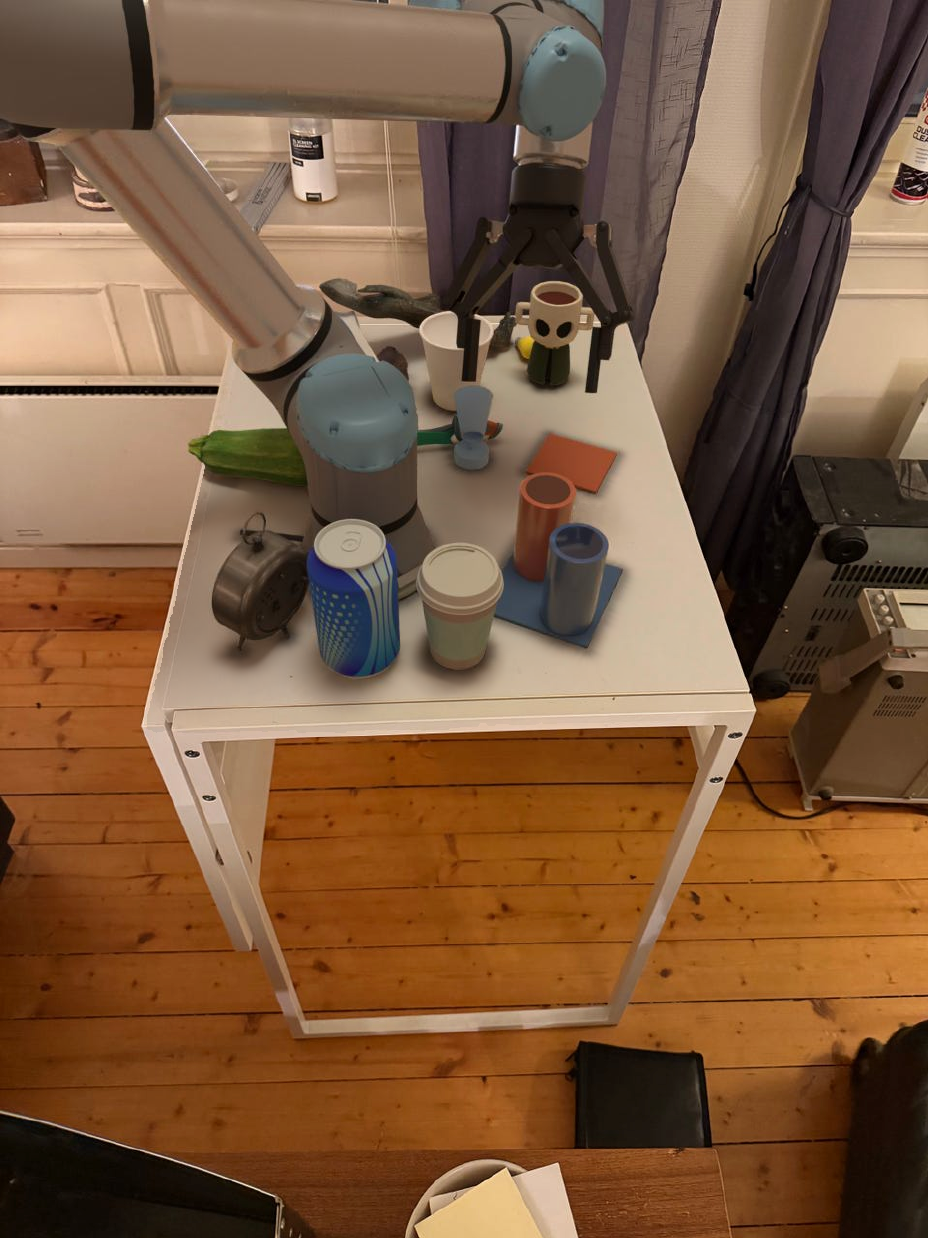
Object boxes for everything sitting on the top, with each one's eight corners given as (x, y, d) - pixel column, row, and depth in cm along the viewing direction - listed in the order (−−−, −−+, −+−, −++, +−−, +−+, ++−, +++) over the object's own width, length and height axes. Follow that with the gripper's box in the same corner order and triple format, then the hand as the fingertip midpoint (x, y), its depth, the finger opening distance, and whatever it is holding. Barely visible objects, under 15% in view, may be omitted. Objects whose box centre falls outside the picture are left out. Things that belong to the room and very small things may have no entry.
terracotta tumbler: (505, 571, 100) (511, 497, 92) (524, 539, 103) (531, 465, 95) (554, 588, 98) (565, 514, 90) (571, 554, 102) (583, 481, 94)
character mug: (508, 386, 125) (515, 302, 116) (512, 360, 130) (519, 277, 121) (584, 393, 125) (596, 309, 115) (585, 366, 130) (597, 283, 120)
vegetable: (332, 481, 103) (170, 469, 105) (344, 496, 111) (192, 484, 112) (338, 422, 104) (177, 410, 106) (350, 440, 111) (199, 429, 113)
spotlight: (452, 440, 117) (452, 472, 112) (454, 375, 109) (453, 407, 105) (489, 441, 117) (490, 473, 112) (493, 376, 109) (494, 408, 105)
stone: (376, 401, 123) (411, 401, 124) (376, 388, 121) (412, 388, 122) (371, 354, 130) (405, 355, 130) (372, 341, 128) (406, 341, 128)
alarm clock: (287, 589, 97) (267, 474, 85) (325, 608, 96) (310, 494, 84) (220, 651, 91) (188, 538, 79) (260, 673, 89) (233, 560, 77)
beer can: (416, 655, 92) (414, 544, 80) (355, 699, 87) (343, 588, 76) (365, 612, 95) (356, 500, 84) (304, 652, 91) (285, 540, 80)
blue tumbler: (531, 625, 94) (540, 551, 86) (550, 589, 98) (561, 515, 90) (583, 643, 93) (598, 569, 85) (600, 606, 96) (616, 532, 88)
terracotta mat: (525, 473, 113) (525, 470, 112) (549, 435, 118) (549, 433, 118) (595, 493, 110) (596, 491, 110) (616, 454, 116) (617, 452, 115)
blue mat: (479, 611, 96) (479, 608, 96) (521, 539, 104) (522, 536, 104) (586, 648, 93) (587, 646, 93) (622, 571, 101) (623, 568, 101)
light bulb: (524, 353, 128) (539, 333, 127) (503, 342, 132) (518, 324, 132) (536, 367, 130) (551, 348, 130) (515, 356, 134) (530, 338, 134)
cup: (466, 428, 119) (468, 357, 111) (406, 405, 122) (404, 334, 114) (502, 394, 124) (507, 324, 116) (444, 373, 128) (445, 303, 120)
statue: (530, 311, 128) (332, 254, 116) (520, 352, 129) (324, 300, 118) (503, 314, 137) (317, 261, 125) (495, 352, 138) (310, 304, 127)
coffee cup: (500, 623, 95) (507, 542, 86) (494, 684, 89) (501, 604, 80) (423, 615, 95) (422, 534, 86) (412, 676, 90) (410, 596, 81)
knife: (499, 434, 118) (501, 403, 114) (503, 443, 117) (505, 412, 113) (354, 454, 114) (351, 423, 110) (357, 463, 113) (354, 432, 109)
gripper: (680, 178, 86) (650, 397, 93) (446, 174, 94) (432, 377, 100) (671, 160, 80) (639, 398, 86) (420, 157, 87) (407, 376, 93)
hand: (528, 387), depth 93 cm, fingers open, 13 cm apart
